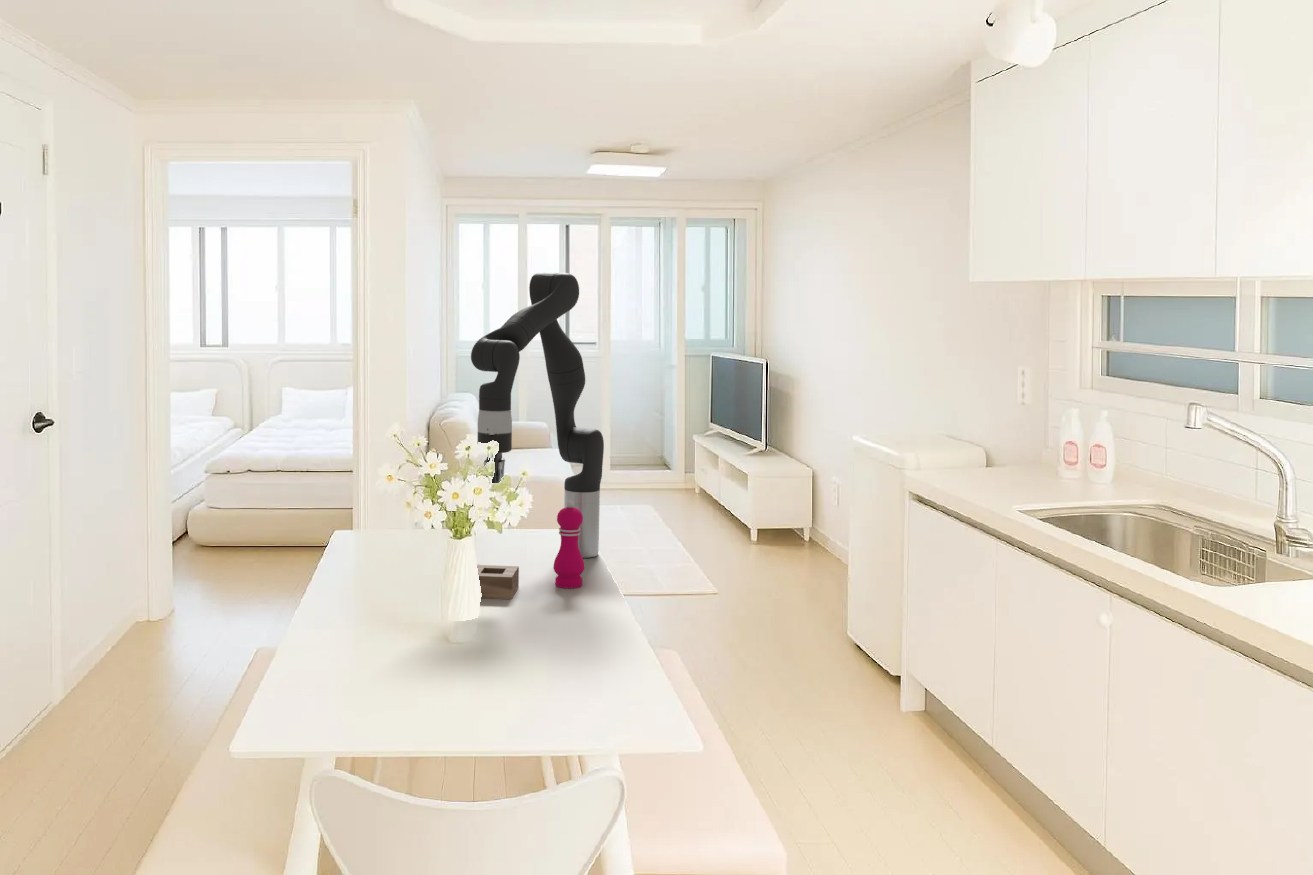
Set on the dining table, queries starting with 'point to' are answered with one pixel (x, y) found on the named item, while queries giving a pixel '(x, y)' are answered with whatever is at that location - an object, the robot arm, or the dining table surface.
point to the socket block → (498, 581)
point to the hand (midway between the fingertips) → (494, 506)
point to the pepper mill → (569, 548)
